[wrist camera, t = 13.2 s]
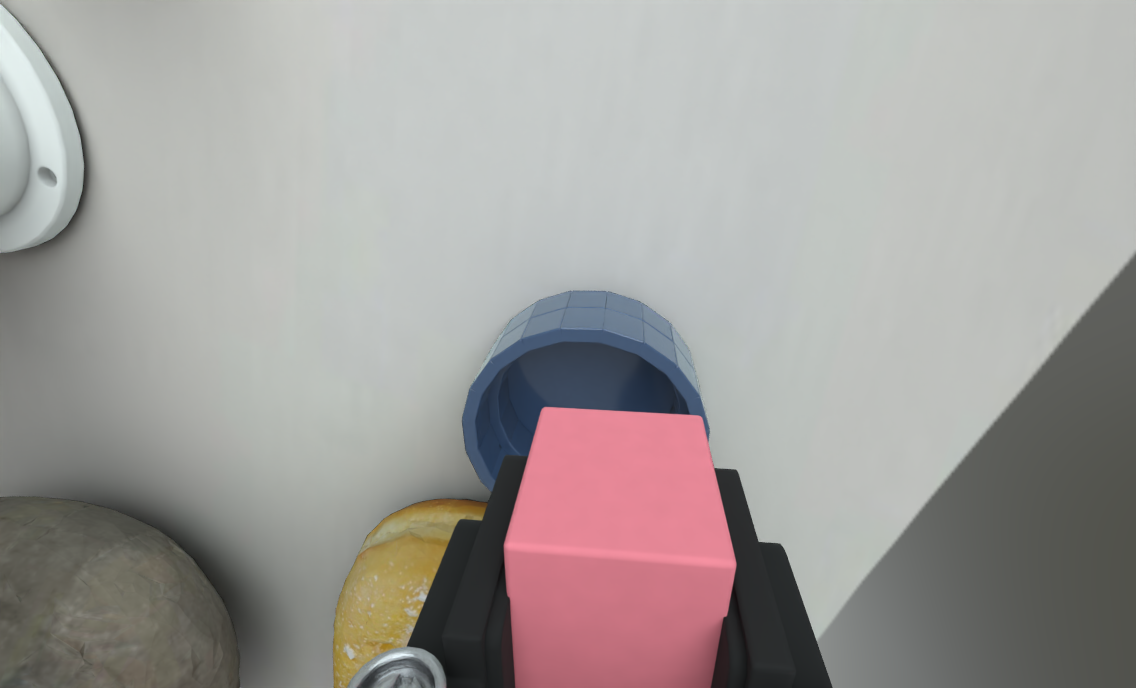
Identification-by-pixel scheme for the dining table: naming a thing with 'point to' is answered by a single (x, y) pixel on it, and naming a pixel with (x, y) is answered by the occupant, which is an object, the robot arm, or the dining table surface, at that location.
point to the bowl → (575, 372)
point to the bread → (393, 581)
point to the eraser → (617, 553)
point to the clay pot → (105, 603)
